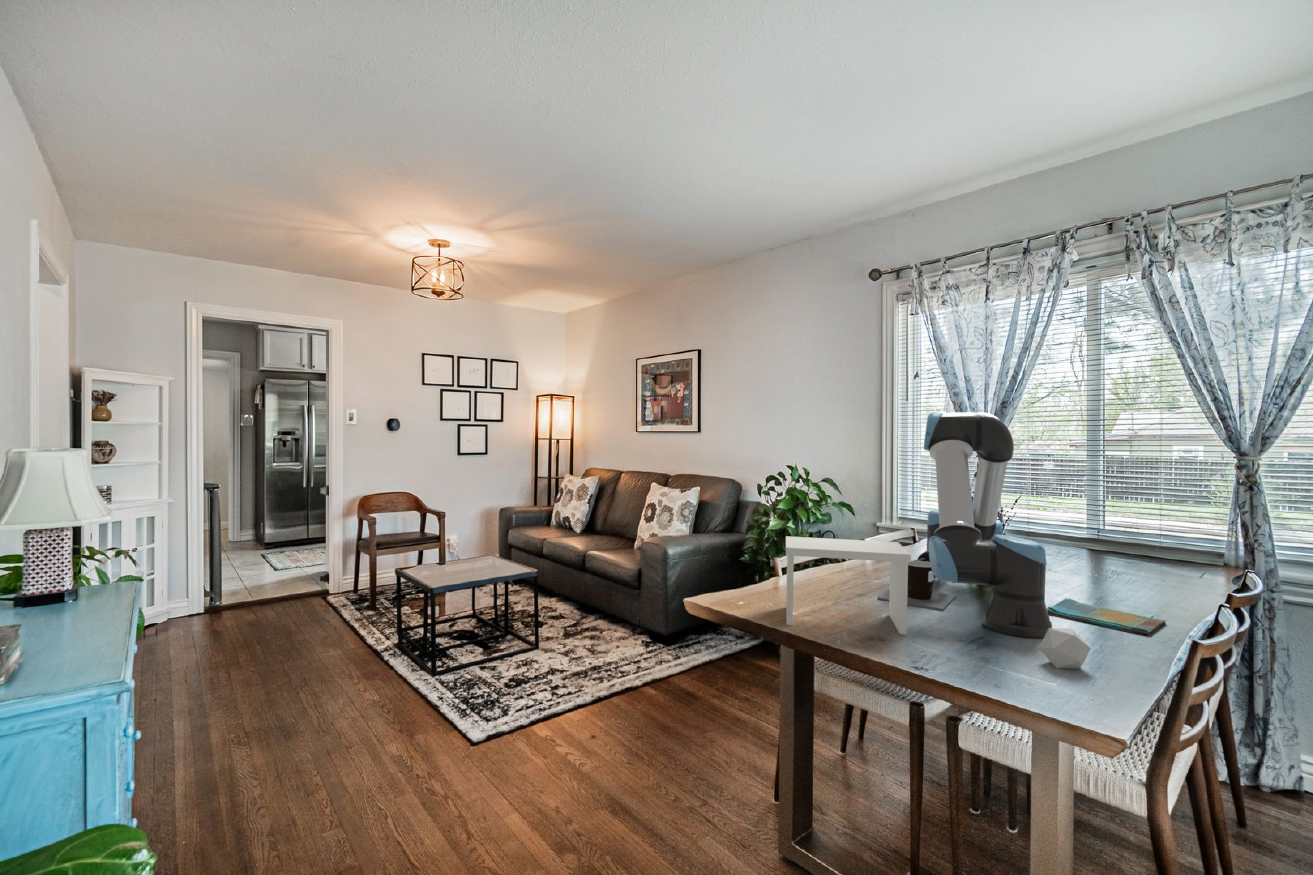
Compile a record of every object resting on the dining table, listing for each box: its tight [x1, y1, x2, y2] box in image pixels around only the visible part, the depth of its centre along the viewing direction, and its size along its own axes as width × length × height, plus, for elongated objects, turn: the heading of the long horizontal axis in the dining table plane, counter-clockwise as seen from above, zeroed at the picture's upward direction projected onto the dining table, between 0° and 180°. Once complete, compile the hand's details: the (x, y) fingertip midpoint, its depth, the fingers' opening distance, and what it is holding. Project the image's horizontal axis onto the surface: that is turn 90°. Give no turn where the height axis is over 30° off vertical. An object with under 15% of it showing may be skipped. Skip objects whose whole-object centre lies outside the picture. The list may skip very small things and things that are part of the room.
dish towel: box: [1046, 597, 1167, 637], centre depth 166 cm, size 17×23×2 cm
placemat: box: [877, 588, 957, 612], centre depth 183 cm, size 18×18×1 cm
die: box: [1038, 627, 1092, 670], centre depth 131 cm, size 8×9×10 cm
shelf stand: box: [785, 535, 912, 636], centre depth 161 cm, size 17×30×20 cm, turn 78°
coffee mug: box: [907, 560, 935, 600], centre depth 183 cm, size 12×9×10 cm
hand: (913, 574), depth 179 cm, fingers open, 8 cm apart
